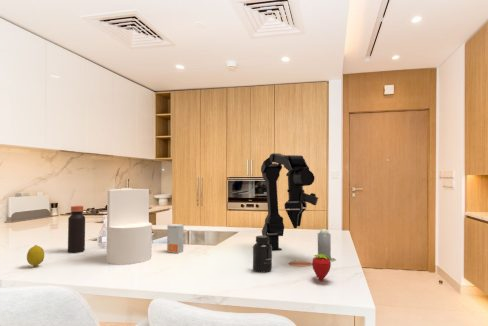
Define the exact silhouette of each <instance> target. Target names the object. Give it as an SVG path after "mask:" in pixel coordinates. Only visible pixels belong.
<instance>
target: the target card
mask: <svg viewBox="0 0 488 326" xmlns="http://www.w3.org/2000/svg"><path fill="white" fill-rule="evenodd" d="M315 257H316V256H314V257H313V258H312V260H313V259H314V258H315ZM336 261H337V259H336V258H335V257H334V258H333V257H331V260H330V263H334V262H336ZM288 265H289V266H292V267H298V268H306V267H307V268H308V267H311V266H312V262H310V261H308V260H307V261H306V260H291V261H289V262H288ZM312 267H313V266H312Z"/></svg>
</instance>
